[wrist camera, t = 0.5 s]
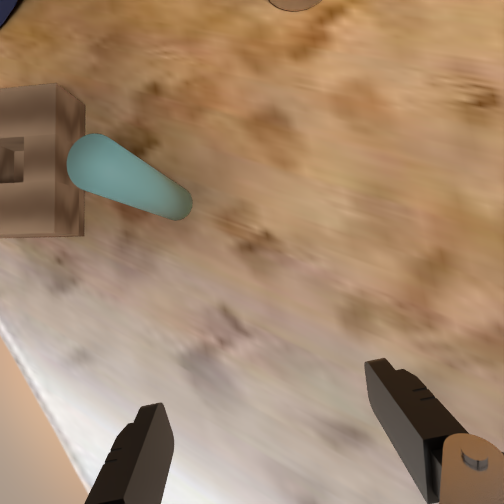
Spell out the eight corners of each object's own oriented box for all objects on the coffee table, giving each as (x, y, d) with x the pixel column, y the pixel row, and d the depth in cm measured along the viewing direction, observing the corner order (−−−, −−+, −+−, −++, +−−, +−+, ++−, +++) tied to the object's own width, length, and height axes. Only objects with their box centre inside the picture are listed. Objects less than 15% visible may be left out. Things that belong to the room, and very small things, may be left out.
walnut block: (-5, 112, 42) (-44, 93, 37) (85, 105, 40) (55, 83, 35) (-7, 238, 41) (-47, 235, 36) (84, 236, 39) (54, 232, 34)
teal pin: (159, 187, 38) (66, 135, 22) (192, 185, 38) (120, 131, 22) (159, 220, 38) (66, 192, 22) (192, 219, 37) (120, 190, 22)
